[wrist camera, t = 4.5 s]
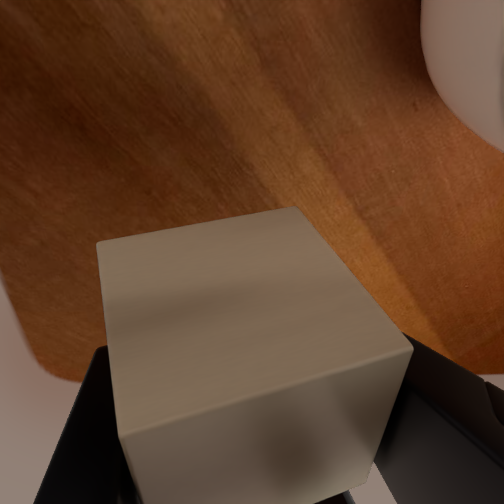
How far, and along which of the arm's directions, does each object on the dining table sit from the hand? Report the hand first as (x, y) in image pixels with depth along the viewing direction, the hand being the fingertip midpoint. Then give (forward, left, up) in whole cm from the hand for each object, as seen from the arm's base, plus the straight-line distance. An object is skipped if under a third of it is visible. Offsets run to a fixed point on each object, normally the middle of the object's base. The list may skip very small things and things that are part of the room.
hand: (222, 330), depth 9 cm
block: (0, 0, -1) cm, 1 cm away
